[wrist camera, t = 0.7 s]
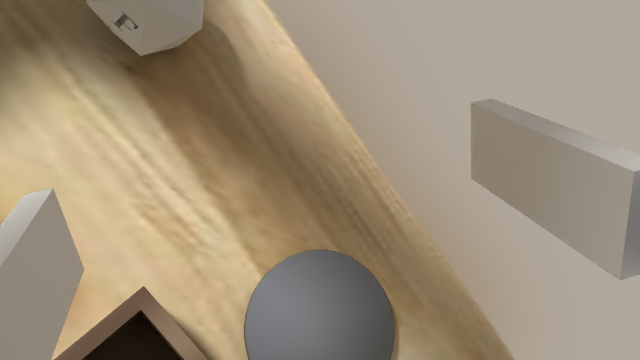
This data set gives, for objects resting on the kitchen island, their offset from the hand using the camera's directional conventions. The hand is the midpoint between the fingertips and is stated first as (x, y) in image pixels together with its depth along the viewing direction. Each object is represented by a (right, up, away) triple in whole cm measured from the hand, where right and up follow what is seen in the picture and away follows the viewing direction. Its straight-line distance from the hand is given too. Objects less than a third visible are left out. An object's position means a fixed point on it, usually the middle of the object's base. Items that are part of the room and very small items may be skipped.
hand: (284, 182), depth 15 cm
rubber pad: (+1, -12, +23) cm, 26 cm away
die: (-13, +13, +26) cm, 32 cm away
